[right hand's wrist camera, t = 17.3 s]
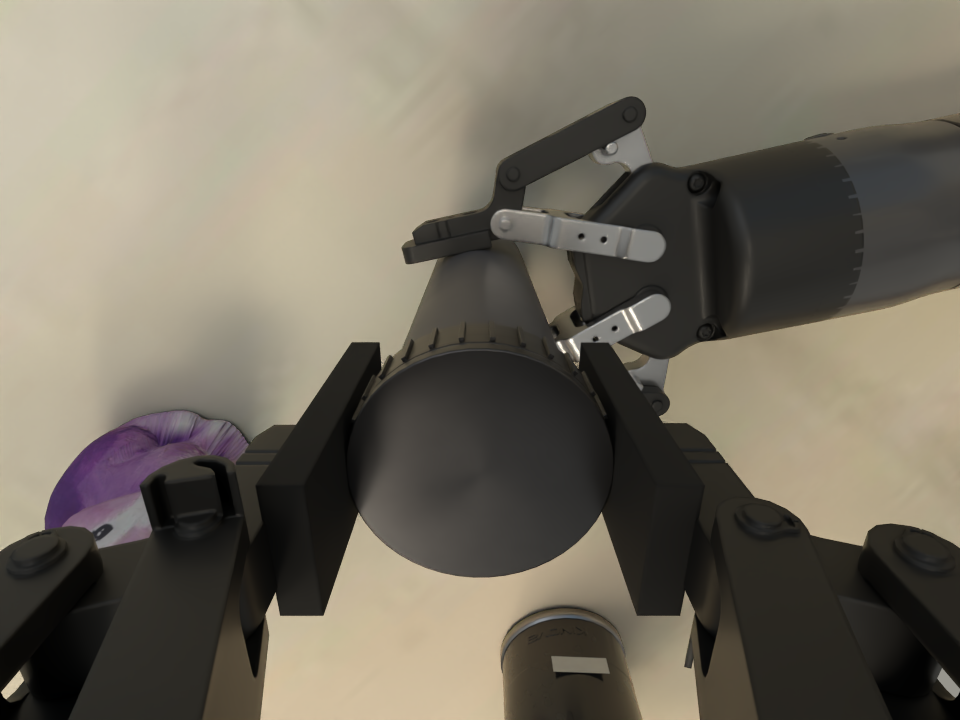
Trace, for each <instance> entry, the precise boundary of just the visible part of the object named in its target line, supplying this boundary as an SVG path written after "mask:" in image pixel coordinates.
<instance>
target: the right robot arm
mask: <svg viewBox="0 0 960 720" xmlns="http://www.w3.org/2000/svg"><path fill="white" fill-rule="evenodd" d="M381 369H382V368H381V355H380V342H352V343H351V344H350V346H349V347H348V349H347V350H346V352H345V353H344V355H343V356H342V358H341V359H340V361H339V362H338V364H337V365H336V367H335V368H334V370H333V371H332V373H331V374H330V375H329V377H328V378H327V380H326V381H325V383H324V384H323V386H322V387H321V389H320V390H319V392H318V393H317V395H316V396H315V398H314V399H313V401H312V402H311V404H310V405H309V407H308V408H307V410H306V411H305V412H304V414H303V415H302V417H301V418H300V420H299V421H298V423H297V424H296V425H273V426H272V427H270V428H269V429H267V430H266V431H264V432H262V433H261V434H259V435H258V436H256V437H255V438H254V439H253V441H252V442H251V443H250V445H249V446H248V447H247V448H246V450H245V453H242V455H241V456H240V457H239V458H238V460H237V461H236V465H234V463H233V462H232V461H230V460H229V459H228V458H226V457H221V456H216V455H203V456H194V457H190V458H185V459H181V460H178V461H175V462H173V463H170V464H168V465H165V466H162V467H161V468H159V469H158V470H156V471H154V472H153V473H151V474H150V475H148V476H147V477H146V478H145V480H144V481H143V482H142V483H141V484H140V485H139V487H140V490H141V493H142V497H143V500H144V504H145V507H146V511H147V514H148V517H149V521H150V524H151V528H152V532H151V534H150V537H149V538H145V539H142V540H137V541H133V542H128V543H123V544H118V545H113V546H108V547H104V548H99V549H98V547H97V544H96V541H95V538H94V535H93V533H92V532H90V531H89V530H88V529H86V528H85V527H77V526H65V527H58V528H51V529H47V530H43V531H42V532H36V533H34V534H31V535H28V536H27V537H25V538H23V539H21V540H19V541H17V542H15V543H13V544H11V545H9V546H8V547H6V548H5V549H3V550H2V551H0V720H260V716H261V707H262V697H263V688H264V678H265V669H266V659H267V650H268V640H269V631H268V625H267V620H266V615H265V614H266V612H267V609H268V607H269V605H270V603H271V601H272V599H273V596H274V594H275V592H276V596H277V601H278V606H279V612H280V616H323V615H324V612H325V609H326V607H327V604H328V601H329V598H330V595H331V592H332V589H333V586H334V583H335V580H336V577H337V574H338V571H339V568H340V565H341V562H342V559H343V556H344V553H345V550H346V547H347V544H348V541H349V538H350V536H351V533H352V530H353V527H354V524H355V521H356V518H357V515H358V510H357V508H356V506H355V503H354V501H353V499H352V497H351V493H350V490H349V486H348V478H347V470H346V449H347V443H348V438H349V435H350V432H351V429H352V426H353V424H352V423H350V422H351V419H352V417H353V415H354V413H355V411H356V409H357V407H358V405H359V403H360V401H361V398H362V396H363V394H364V392H365V390H366V387H367V385H368V383H369V381H370V379H371V377H372V376H373V375H375V376H377V375H378V374H379V372H380V371H381ZM579 371H580V372H583V371H585V373H586V374H587V376H588V378H589V380H590V382H591V384H592V386H593V389H594V391H595V393H597V395H598V397H599V399H600V401H601V403H602V405H603V408H604V410H605V412H606V414H607V416H608V419H606V420H605V421H606V423H607V426H608V429H609V431H610V434H611V438H612V443H613V447H614V472H613V481H612V486H611V490H610V494H609V497H608V499H607V501H606V504H605V506H604V509H603V510H602V514H603V517H604V520H605V523H606V526H607V529H608V532H609V535H610V538H611V541H612V543H613V546H614V549H615V552H616V555H617V558H618V561H619V564H620V567H621V570H622V573H623V576H624V579H625V582H626V585H627V588H628V591H629V594H630V597H631V600H632V603H633V606H634V609H635V612H636V614H637V616H680V613H681V608H682V603H683V598H684V593H685V591H686V593H687V595H688V597H689V600H690V602H691V604H692V606H693V608H694V610H695V615H694V620H693V625H692V630H691V634H690V639H689V644H688V649H687V654H686V659H685V666H684V667H687V668H691V667H692V663H693V658H694V667H695V677H696V686H697V696H698V705H699V715H700V720H960V693H959V695H958V696H957V697H956V698H955V697H953V696H952V695H951V694H950V693H949V692H948V691H947V690H946V689H945V688H944V687H943V685H942V684H941V683H940V682H939V680H938V679H937V677H938V675H939V673H940V671H941V669H942V668H943V669H944V670H945V672H946V673H947V674H948V675H949V676H950V677H951V679H952V680H953V681H954V682H955V683H956V685H957V686H958V687H959V688H960V548H959V547H957V546H956V545H954V544H953V543H951V542H949V541H947V540H945V539H943V538H941V537H939V536H937V535H935V534H934V533H931V532H929V531H926V530H923V529H922V530H921V529H919V528H916V527H912V526H905V525H898V524H883V525H876V526H875V527H873V528H872V529H871V530H869V531H868V533H867V536H866V539H865V542H864V545H863V546H858V545H853V544H848V543H843V542H839V541H834V540H829V539H824V538H820V537H816V536H812V535H810V533H809V531H808V529H807V528H806V527H805V525H804V524H803V523H802V521H801V520H800V519H799V518H798V517H797V516H795V515H794V514H792V513H791V512H790V511H788V510H787V509H785V508H783V507H781V506H779V505H777V504H774V503H772V502H770V501H766V500H762V499H758V498H755V497H754V496H753V495H752V494H751V492H750V491H749V490H748V488H747V487H746V486H745V485H744V483H743V482H742V481H741V480H740V478H739V477H738V476H737V475H736V473H735V472H734V471H733V470H732V468H731V467H730V466H729V465H728V463H725V460H724V458H723V457H722V456H721V455H720V453H719V452H716V448H715V447H714V446H713V445H712V443H711V442H710V441H709V439H708V438H707V437H706V436H705V435H704V434H702V433H701V432H699V431H698V430H696V429H695V428H693V427H691V426H690V425H688V424H687V423H663V422H662V421H661V419H660V418H659V416H658V415H657V413H656V412H655V411H654V409H653V408H652V406H651V405H650V403H649V402H648V400H647V399H646V397H645V396H644V394H643V393H642V391H641V390H640V388H639V387H638V385H637V384H636V382H635V381H634V379H633V378H632V376H631V375H630V374H629V372H628V371H627V369H626V368H625V366H624V365H623V363H622V362H621V360H620V359H619V357H618V356H617V354H616V353H615V351H614V350H613V348H612V347H611V345H610V344H609V342H581V346H580V359H579ZM19 670H20V672H21V674H22V676H23V678H24V682H23V683H22V684H21V685H20V686H19V688H18V689H17V690H16V691H15V692H14V693H13V694H12V695H11V696H10V697H9V698H7V699H5V698H3V696H2V694H1V691H2V690H3V689H4V688H5V687H6V685H7V684H8V683H9V682H10V681H11V680H12V678H13V677H14V676H15V675H16V674H17V672H18V671H19Z"/></svg>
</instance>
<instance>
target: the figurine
mask: <svg viewBox="0 0 960 720" xmlns="http://www.w3.org/2000/svg"><path fill="white" fill-rule="evenodd" d="M248 446H249V444H248V443H247V441H246V440H245V439H244V437H243V436H242V434H241V433H240V431H239V430H238V429H236V427H235V426H233V425H231V423H230V422H227V421H224V420H214V419H212V420H207V419H204V418H202V417H200V416H199V415H198V414H196V413H193V412H189V411H186V410H182V411H178V410H177V411H170V412H162V413H153V414H149V415H145V416H141V417H138V418H135V419H132V420H131V421H129V422H127V423H125V424H123V425H121V426H119V427H118V428H116V429H114V430H112V431H109V432H108V433H106V434H104V435H103V436H101V437H99V438H98V439H96V440H95V441H93V442H92V443H91V444H90V445H88V446H87V447H86V448H85V449H84V450H83V451H82V452H81V453H80V454H79V455H78V456H77V457H76V459H75V460H74V461H73V462H72V464H71V465H70V466H69V467H68V469H67V470H66V471H65V473H64V474H63V476H62V477H61V479H60V480H59V482H58V483H57V485H56V487H55V488H54V490H53V492H52V495H51V497H50V500H49V503H48V507H47V511H46V515H45V530H47V529H51V528H58V527H65V526H77V527H85V528H86V529H88V530H89V531H90V532H92V533H93V535H94V538H95V541H96V544H97V547H98V549H99V548H104V547H108V546H113V545H118V544H123V543H128V542H133V541H137V540H142V539H145V538H149V537H150V534H151V532H152V528H151V524H150V521H149V517H148V514H147V511H146V507H145V504H144V500H143V497H142V493H141V490H140V487H139V485H140V484H141V483H142V482H143V481H144V480H145V478H146V477H147V476H148V475H150V474H151V473H153V472H154V471H156V470H158V469H159V468H161V467H162V466H165V465H168V464H170V463H173V462H175V461H178V460H181V459H185V458H190V457H194V456H203V455H216V456H221V457H226V458H228V459H229V460H230V461H232V462H233V463H234V465H236V461H237V460H238V458H239V457H240V456H241V455H242V453H245V450H246V448H247V447H248Z"/></svg>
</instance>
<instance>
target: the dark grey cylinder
mask: <svg viewBox="0 0 960 720" xmlns="http://www.w3.org/2000/svg"><path fill="white" fill-rule="evenodd" d="M491 242H492V247H489V248H485V249H480V250H475V251H469V252H465V253H461V254H456V255H452V256H447V257H442V258H438V260H437V263H436V265H435V268H434V270H433V273H432V275H431V278H430V280H429V283H428V285H427V288H426V290H425V293H424V295H423V298H422V300H421V303H420V305H419V308H418V310H417V313H416V315H415V318H414V320H413V323H412V325H411V328H410V330H409V333H408V335H407V338H406V340H405V343H404V345H403V348H404V347H405V346H406V344H407V341H408V340H410V339H412V340H413V341H415V340H417V339H419V338H420V337H422V336H425V335H427V334H429V333H432V329H433V328H436V327H437V328H438V330H440V329H444V328H448V327H451V326H457V325H460V322H462V321H465V322H466V324H484V323H487V324H489V321H494V323H495V324H496V325H504V326H508V327H512V328H517V327H518V326H521V327H523V331H526V332H528V333H531V334H533V335H536V336H538V337H540V338H541V339H543V337H544V336H545V337H547V338H548V339H549V342H550V344H552V345H553V346H555V347H556V348H557V349H558V347H557V345H556V342H555V340H554V337H553V335H552V332H551V330H550V327H549V324H548V322H547V319H546V317H545V314H544V312H543V309H542V307H541V304H540V302H539V299H538V297H537V294H536V292H535V289H534V287H533V284H532V282H531V279H530V277H529V274H528V272H527V269H526V267H525V264H524V262H523V259H522V257H521V254H520V252H519V250H518V248H517V246H516V245H515V243H514V242H513V241H510V240H503V239H498V240H493V241H491ZM403 348H402V349H403Z"/></svg>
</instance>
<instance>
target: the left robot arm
mask: <svg viewBox="0 0 960 720" xmlns="http://www.w3.org/2000/svg"><path fill="white" fill-rule="evenodd" d="M645 117H646V108H645V105H644V103H643V102H642V101H641V100H640V99H639V98H637V97H626V98H623V99H621V100H618V101H616V102H613V103H610V104H608V105H606V106H604V107H602V108H600V109H599V110H597V111H595V112H593V113H591V114H589V115H587V116H585V117H583V118H581V119H579V120H577V121H575V122H574V123H572V124H570V125H568V126H566V127H564V128H562V129H560V130H558V131H556V132H554V133H552V134H550V135H549V136H547V137H545V138H543V139H541V140H539V141H537V142H535V143H533V144H531V145H529V146H527V147H525V148H524V149H522V150H520V151H518V152H516V153H514V154H512V155H510V156H508V157H506V158H504V159H503V160H501V161H500V162H499V164H498V165H497V168H496V177H495V184H494V191H493V196H492V199H491V201H490V202H489V203H488V205H486V206H485V207H484V208H482V209H479V210H474V211H470V212H465V213H460V214H456V215H451V216H447V217H442V218H438V219H433V220H428V221H425V222H424V223H423V224H421V225H420V226H418V227H417V228H416V229H415V230H414V231H413V232H412V234H413V238H414V240H410V241H408V242H406V243H405V244H404V245H403V246H402V251H403V255H404V259H405V263H406V264H414V263H419V262H424V261H428V260H433V259H438V258H442V257H447V256H452V255H456V254H461V253H465V252H469V251H475V250H480V249H485V248H489V247H492V242H491V241H493V240H498V239H503V240H510V241H518V242H525V243H532V244H539V245H545V246H548V247H551V248H555V249H562V250H567V255H568V261H569V263H570V265H571V267H572V270H573V272H574V274H575V282H574V290H573V296H574V302H575V306H574V307H572V308H570V309H568V310H567V311H565V312H563V313H561V314H560V315H558V316H557V317H556V318H555V319H554V321H553V322H552V323H551V324H549V327H550V330H551V332H552V335H553V337H554V340H555V342H556V345H557V347H558V349H559V350H560V351H561V352H563V353H564V354H565V353H566V352H568V353H569V354H570V356H571V358H572V360H573V362H579V359H580V346H581V342H609V344H610V345H613V344H615V343H619V344H621V345H623V346H625V347H628V348H630V349H632V350H635V351H637V352H639V353H642V356H641V357H640V358H639V359H638V360H636V361H634V362H627V363H624V364H623V365H624V366H625V368H626V369H627V371H628V372H629V374H630V375H631V376H632V378H633V379H634V381H635V382H636V384H637V385H638V387H639V388H640V390H641V391H642V393H643V394H644V396H645V397H646V399H647V400H648V402H649V403H650V405H651V406H652V408H653V409H654V411H655V412H656V413H657V415H658V416H660V415H663V414H664V413H665V412H666V411H667V410H668V408H669V406H670V401H669V399H668V397H667V396H666V394H665V393H664V390H663V388H664V383H665V378H666V372H667V367H668V361H669V358H672V357H675V356H677V355H678V354H680V353H681V352H682V351H684V350H685V349H687V348H688V347H690V346H692V345H694V344H696V343H699V342H704V341H715V340H725V339H731V338H736V337H741V336H746V335H751V334H757V333H762V332H767V331H772V330H777V329H782V328H787V327H792V326H798V325H803V324H809V323H814V322H819V321H824V320H828V319H834V318H839V317H844V316H849V315H855V314H860V313H865V312H871V311H876V310H880V309H885V308H889V307H893V306H896V305H899V304H902V303H905V302H908V301H911V300H914V299H917V298H920V297H923V296H926V295H930V294H934V293H938V292H942V291H946V290H952V289H957V288H960V113H958V114H953V115H948V116H944V117H939V118H935V119H930V120H926V121H921V122H915V123H906V124H894V125H881V126H872V127H866V128H860V129H855V130H850V131H846V132H841V133H836V134H834V133H829V134H827V133H823V134H819V135H815V136H812V137H809V138H806V139H804V141H800V142H795V143H791V144H786V145H781V146H777V147H772V148H768V149H763V150H759V151H754V152H750V153H745V154H741V155H736V156H731V157H727V158H722V159H718V160H713V161H709V162H704V163H700V164H695V165H691V166H686V167H679V168H675V167H671V166H668V165H665V164H662V163H653V160H652V157H651V154H650V151H649V148H648V145H647V142H646V139H645V136H644V134H643V131H642V128H641V125H642V124H643V122H644V120H645ZM586 155H589V157H590V159H591V160H592V161H593V162H595V163H597V164H602V165H609V164H612V163H619V164H620V165H622V166H623V167H624V169H625V171H626V172H625V173H624V174H623V175H622V176H621V177H620V178H619V179H618V180H617V181H616V182H615V183H614V184H613V185H612V186H611V187H610V188H609V190H608V191H607V192H606V193H605V194H604V195H603V196H602V197H601V198H600V199H599V200H598V201H597V202H596V203H595V204H594V205H593V206H592V207H591V209H590V210H589V211H588V212H587V213H586V214H583V213H576V212H569V211H562V210H555V209H541V208H534V207H527V206H523V200H524V194H525V188H526V186H527V185H529V184H531V183H533V182H535V181H536V180H538V179H540V178H542V177H544V176H546V175H548V174H550V173H552V172H554V171H556V170H558V169H560V168H562V167H564V166H566V165H568V164H570V163H572V162H574V161H576V160H578V159H580V158H582V157H584V156H586ZM595 336H596V337H595ZM593 337H595V338H593ZM501 669H502V673H503V691H504V719H505V720H643V719H642V716H641V712H640V709H639V705H638V702H637V698H636V695H635V691H634V687H633V683H632V680H631V676H630V673H629V670H628V666H627V663H626V659H625V651H624V647H623V644H622V640H621V638H620V635H619V634H618V632H617V630H616V629H615V628H614V627H613V626H612V624H610V623H609V622H608V621H607V620H605V619H604V618H602V617H600V616H599V615H596V614H594V613H591V612H589V611H585V610H580V609H573V608H557V609H550V610H545V611H541V612H538V613H536V614H533V615H531V616H529V617H527V618H525V619H523V620H522V621H520V622H519V623H518V624H516V625H515V626H514V627H513V628H512V629H511V630H510V631H509V633H508V634H507V636H506V637H505V639H504V641H503V644H502V647H501Z"/></svg>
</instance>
